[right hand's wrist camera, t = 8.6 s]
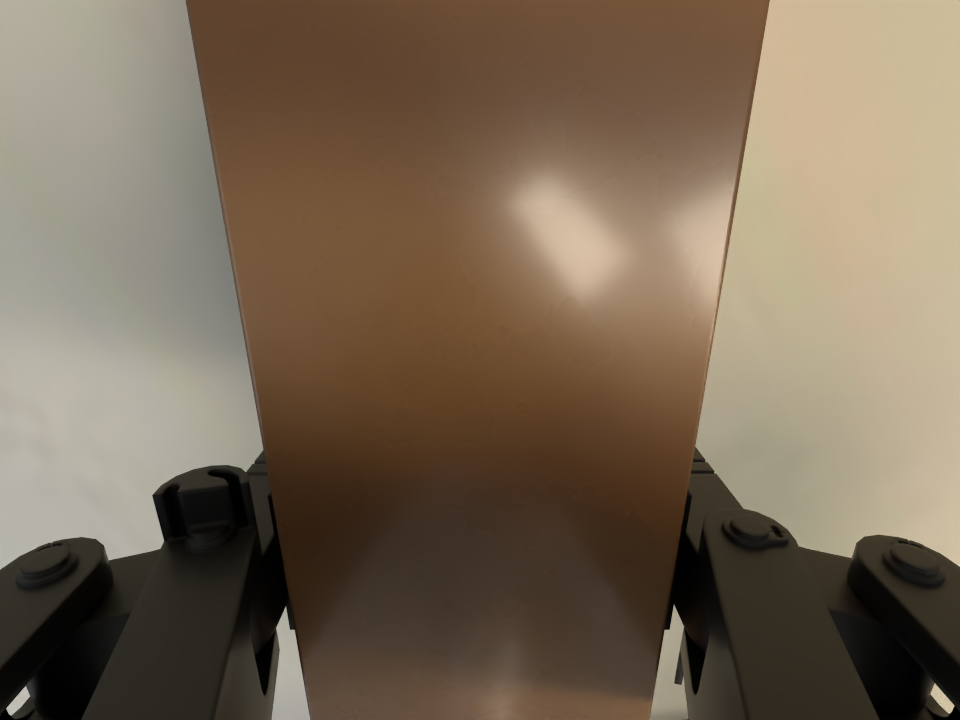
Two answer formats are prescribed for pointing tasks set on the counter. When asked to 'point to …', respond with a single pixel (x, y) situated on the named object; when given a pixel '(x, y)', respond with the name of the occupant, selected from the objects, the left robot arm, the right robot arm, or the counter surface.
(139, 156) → the counter surface
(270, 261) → the post
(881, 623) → the right robot arm
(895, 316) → the counter surface
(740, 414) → the counter surface
